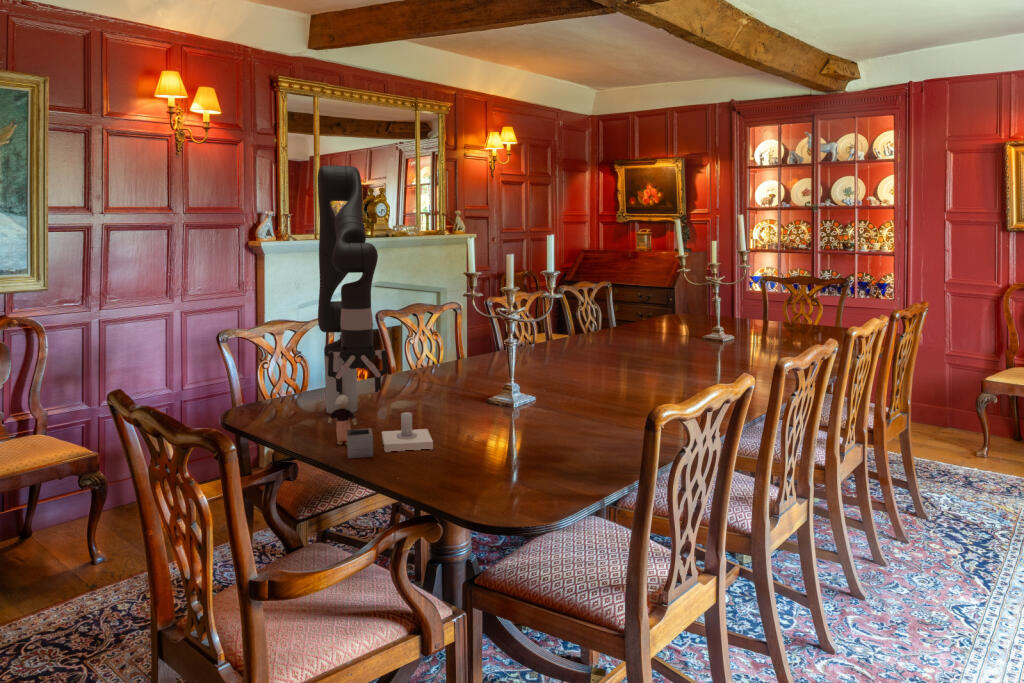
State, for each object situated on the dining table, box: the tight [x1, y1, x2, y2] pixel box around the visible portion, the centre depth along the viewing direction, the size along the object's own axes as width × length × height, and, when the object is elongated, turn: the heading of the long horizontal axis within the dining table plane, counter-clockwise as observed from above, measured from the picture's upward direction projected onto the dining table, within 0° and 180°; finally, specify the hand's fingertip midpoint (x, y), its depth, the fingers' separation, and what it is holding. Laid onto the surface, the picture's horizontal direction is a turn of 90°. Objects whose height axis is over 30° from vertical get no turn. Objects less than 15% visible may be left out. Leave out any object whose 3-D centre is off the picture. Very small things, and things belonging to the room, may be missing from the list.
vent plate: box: [381, 411, 434, 453], centre depth 194 cm, size 12×12×8 cm
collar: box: [346, 427, 374, 459], centre depth 186 cm, size 6×6×6 cm
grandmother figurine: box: [327, 395, 358, 446], centre depth 194 cm, size 8×4×13 cm, turn 92°
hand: (358, 392), depth 184 cm, fingers open, 8 cm apart
